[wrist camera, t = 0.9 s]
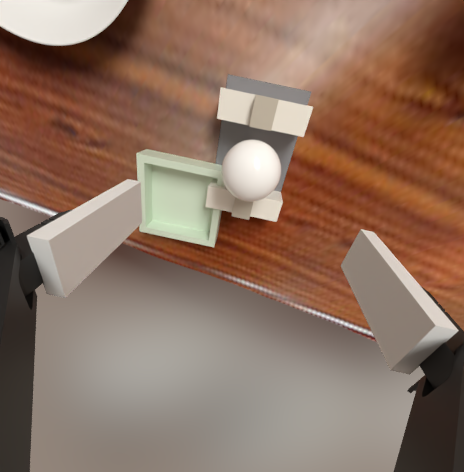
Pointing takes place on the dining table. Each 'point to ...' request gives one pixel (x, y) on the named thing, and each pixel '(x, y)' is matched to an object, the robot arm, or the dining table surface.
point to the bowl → (58, 19)
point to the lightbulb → (251, 170)
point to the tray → (178, 197)
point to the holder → (258, 136)
